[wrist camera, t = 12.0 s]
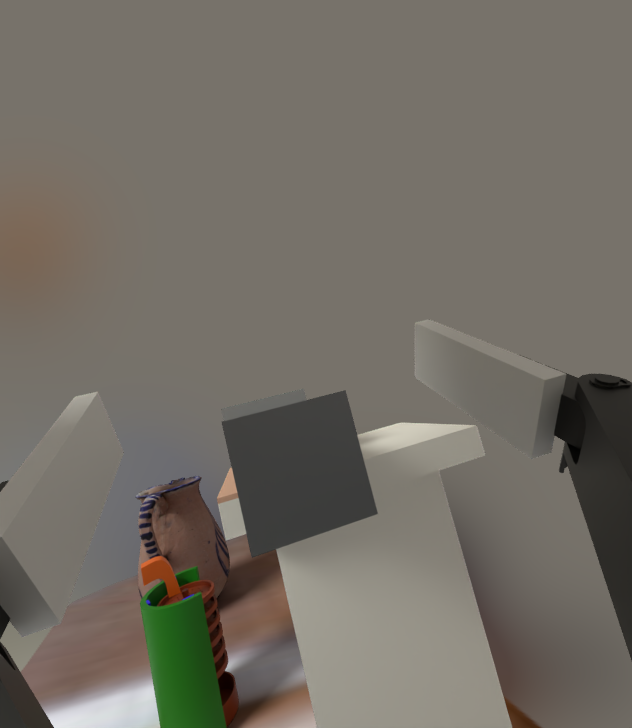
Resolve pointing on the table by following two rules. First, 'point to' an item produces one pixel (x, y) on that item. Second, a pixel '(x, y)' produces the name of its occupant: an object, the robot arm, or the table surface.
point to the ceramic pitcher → (181, 533)
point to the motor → (186, 649)
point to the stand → (391, 596)
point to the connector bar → (296, 467)
